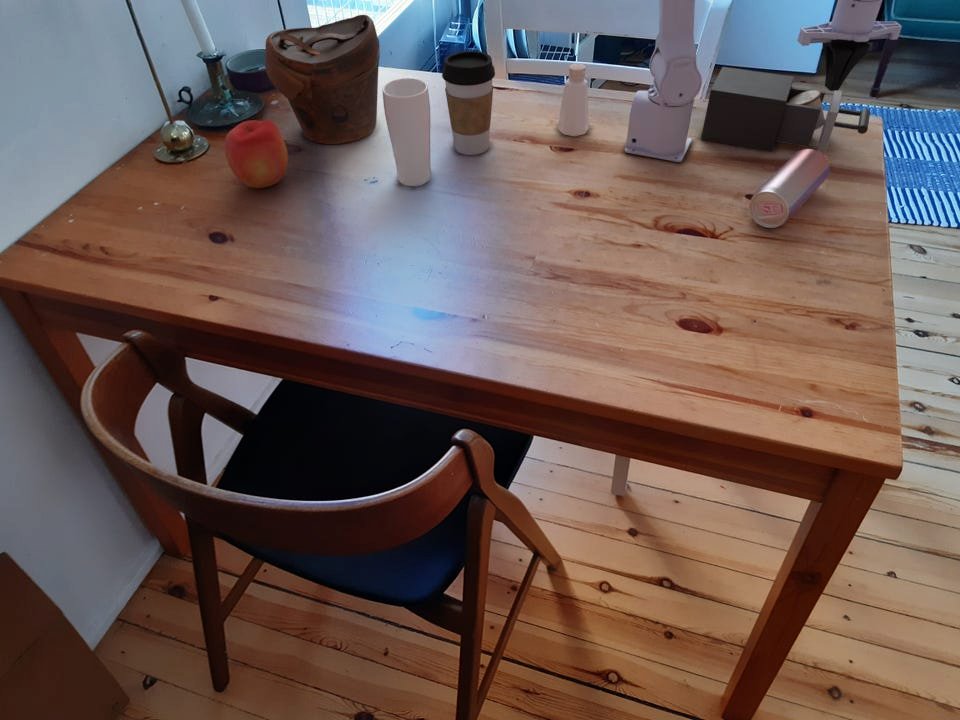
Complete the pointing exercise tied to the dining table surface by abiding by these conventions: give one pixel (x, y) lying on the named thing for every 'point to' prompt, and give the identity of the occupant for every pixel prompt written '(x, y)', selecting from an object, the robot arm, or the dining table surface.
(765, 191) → the beverage can
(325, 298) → the dining table surface
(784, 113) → the drawer
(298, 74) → the case
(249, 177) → the apple
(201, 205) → the dining table surface
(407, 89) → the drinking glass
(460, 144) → the coffee cup
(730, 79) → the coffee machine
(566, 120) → the pepper shaker
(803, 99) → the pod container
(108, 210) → the dining table surface
